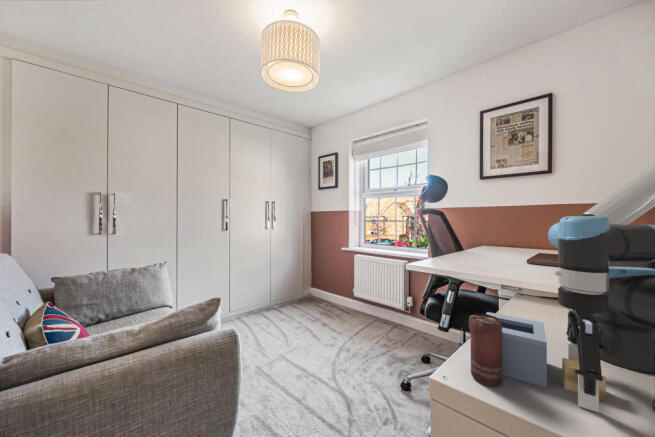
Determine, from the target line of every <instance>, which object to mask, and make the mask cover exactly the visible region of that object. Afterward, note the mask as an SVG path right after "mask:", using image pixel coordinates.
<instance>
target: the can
mask: <svg viewBox="0 0 655 437" xmlns="http://www.w3.org/2000/svg"><path fill="white" fill-rule="evenodd" d="M468 329H469V333H470V374H471V376H472V378H473V379H474V380H475V381H477V382H478V383H479V384H482V385H484V386H487V387H499V386H500V385H501V384H502V383H503V375H502V324H501V322H500V320H499V319H498V318H497V317H494V316H491V315H487V314H486V313H474V314H472V315H470V316H469V320H468Z"/></svg>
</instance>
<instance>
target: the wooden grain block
mask: <svg viewBox="0 0 655 437" xmlns="http://www.w3.org/2000/svg"><path fill="white" fill-rule="evenodd" d="M561 358H562V359H561V364H562V366H561V368H562V369H561V374H562V375H561V376H562V377H561V380H562V384H563V389H564V390H567V391H570V392H574V393H576V394H578V374H576V373H575V369H577V370H580V367H579V362H578V361H574V360H570V359H568V358H565V357H561ZM601 372H602V377H603V380H602V381H599V401H600V400H601V401H604V402H606V401H607V399H606V398H607V397H606V396H607V392H606V391H607V388H606V387H607V386H606V385H607V383H606V382H607V381H606V380H607V378H606V374H605V372H604V370H603V369H602V367H601Z"/></svg>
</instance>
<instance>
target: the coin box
mask: <svg viewBox="0 0 655 437" xmlns="http://www.w3.org/2000/svg"><path fill="white" fill-rule="evenodd" d="M485 314H487V315H491V316H494V317H497V318H498V319H499V320H500V322H501V324H502V376H505V377H508V378H511V379H515V380H518V381H522V382H525V383H528V384H532V385H535V386H538V387H541V388H545V389H548V354H547V353H548V346H547V344H548V342H547V337H546V336H547V335H546V331H545V326H544V322H542V321H538V320H537V321H536V320H533V319H527V318H523V317H522V318H521V317H516V316H512V315H505V314H500V313H494V312H489V311H487V312H486V313H485Z"/></svg>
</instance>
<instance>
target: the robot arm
mask: <svg viewBox="0 0 655 437" xmlns="http://www.w3.org/2000/svg"><path fill="white" fill-rule="evenodd" d="M653 208H655V163H654V164H652V165H651V166H650V167H649V168H647V169H645V170H644V171H643V172H641V173H640V174H639V175H636V177H634V178H632V179H631V180H630V181H628V182H627V183H625V184H624V185H622V186H621V187H620V188H618V189H617V190H615V191H614V192H612V193H611V194H609V195H607V197H605V198H603V199H602V200H600V201H599V202H597V203H596V204H595V205H593V206H592V207H591V208H588V210H585V212H583V213H582V214H580V215H578V216H577V215H576V216H575V215H573V216H571V215H570V216H564V217H562V218H560V220H559V222H556V223H554V224H553V225H552V226H551V227H550V228H549V229H548V233H547V237H548V241H549V242H550V244H551V245H552V246H554V247H555V248H557V252H558V253H557V254H558V255H557V256H558V257H557V258H558V259H557V260H558V262H557V263H558V270H555V271H554V275H555V276H558V277H557V278H558V279H557V280H558V285H560V286H559V287H558V289H557V302H558V304H559V305H560V306H562V307H563V308H565V309H568V312H567V330H566V333H565V334H566V336H567V341H568V342H567V359H570V360H574V361H578V362H579V367H580V370H577V369H575V373H576V374H578V393H577V405H578V407H580V408H582V409H587V410H590V411H592V412H596V413H599V412H600V399H599V381H602V380H603V377H602V372H601V368H602V364H601V360H602V361H604V362H607V363H610V364H611V365H615V366H619V367H621V368H622V367H623V368H624V369H630V370H633V371H638V372H644V373H649V374H655V373H654V372H655V268H649V267H633V266H632V267H631V266H610V262H646V263H652V262H655V224H649V223H648V224H645V223H643V224H631V223H632V222H634V221H635V220H637V219H639V218H640V217H641V216H643V215H644V214H646V213H647V212H649V211H650V210H651V209H653Z"/></svg>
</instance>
